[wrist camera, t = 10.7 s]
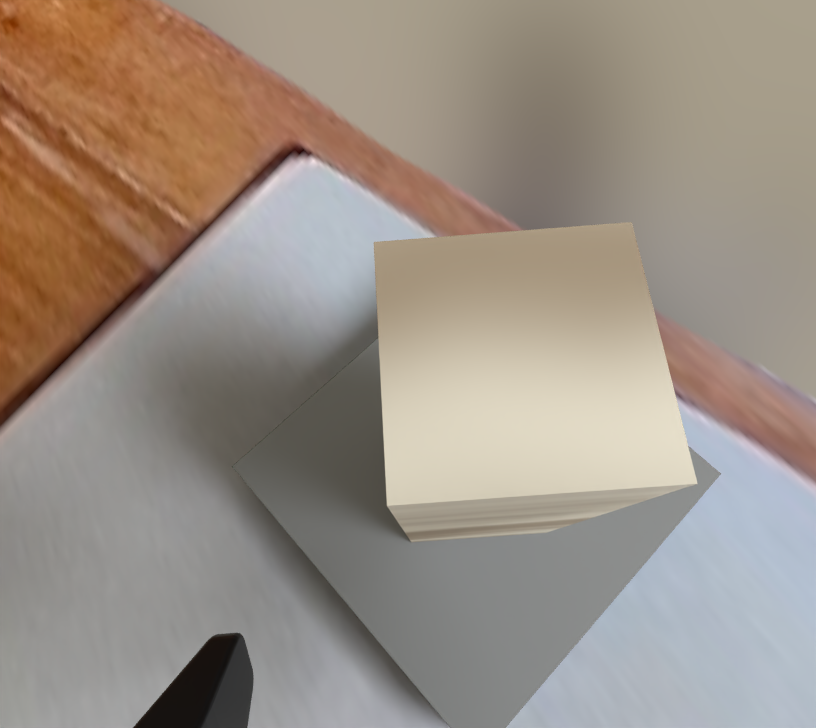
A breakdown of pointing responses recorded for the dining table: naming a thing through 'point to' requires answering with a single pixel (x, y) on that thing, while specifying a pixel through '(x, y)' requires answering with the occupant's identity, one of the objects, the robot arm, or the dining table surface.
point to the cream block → (522, 382)
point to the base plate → (446, 558)
